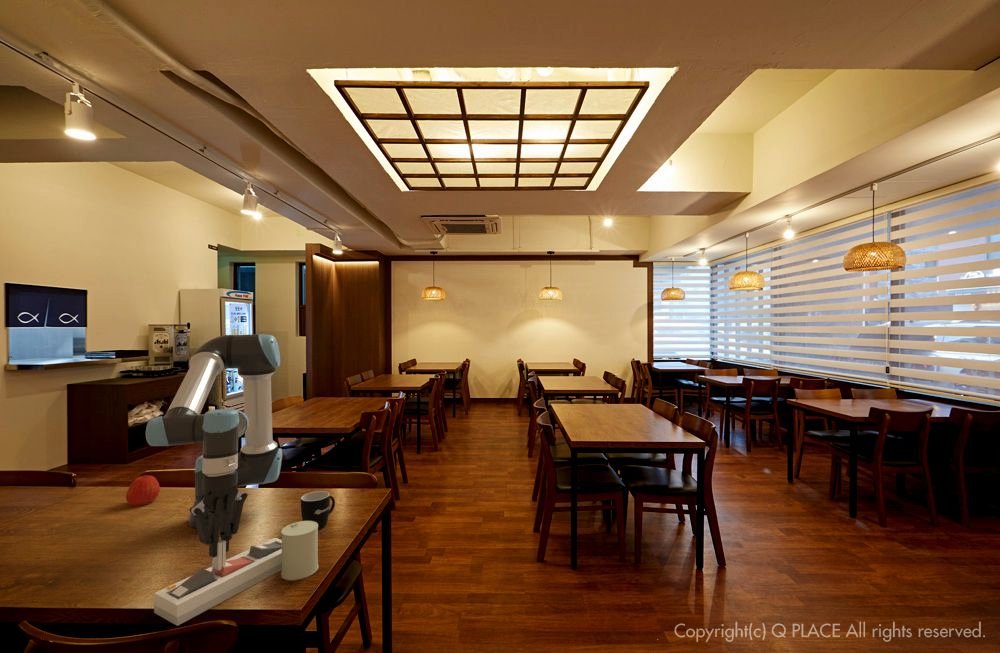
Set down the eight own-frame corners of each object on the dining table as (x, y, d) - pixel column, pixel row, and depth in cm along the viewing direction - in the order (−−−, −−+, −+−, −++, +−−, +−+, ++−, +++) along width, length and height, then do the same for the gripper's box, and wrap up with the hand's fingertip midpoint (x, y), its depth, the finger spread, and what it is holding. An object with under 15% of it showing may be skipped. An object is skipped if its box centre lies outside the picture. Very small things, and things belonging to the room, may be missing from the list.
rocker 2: (259, 557, 114) (261, 549, 114) (248, 553, 116) (251, 545, 117) (284, 553, 120) (286, 545, 121) (273, 549, 122) (275, 542, 123)
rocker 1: (181, 605, 97) (178, 598, 97) (171, 599, 100) (168, 593, 99) (215, 578, 104) (212, 572, 103) (204, 574, 106) (201, 567, 106)
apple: (164, 501, 167) (164, 474, 167) (131, 510, 158) (131, 482, 158) (154, 496, 172) (154, 470, 172) (121, 504, 164) (121, 477, 164)
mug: (312, 534, 137) (312, 502, 137) (295, 528, 141) (294, 497, 141) (343, 520, 147) (343, 490, 147) (325, 515, 152) (325, 486, 152)
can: (306, 558, 122) (306, 516, 123) (325, 568, 117) (325, 523, 117) (274, 573, 115) (274, 528, 115) (292, 584, 109) (292, 537, 110)
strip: (177, 625, 94) (177, 603, 94) (154, 612, 99) (154, 591, 99) (321, 548, 128) (321, 531, 128) (298, 541, 133) (298, 525, 133)
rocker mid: (222, 576, 105) (224, 567, 106) (211, 571, 108) (213, 563, 108) (251, 569, 112) (253, 561, 112) (241, 565, 114) (242, 557, 115)
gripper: (200, 481, 100) (198, 584, 99) (255, 467, 112) (254, 559, 111) (182, 477, 104) (180, 576, 103) (237, 463, 115) (236, 552, 114)
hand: (218, 567), depth 107 cm, fingers closed
